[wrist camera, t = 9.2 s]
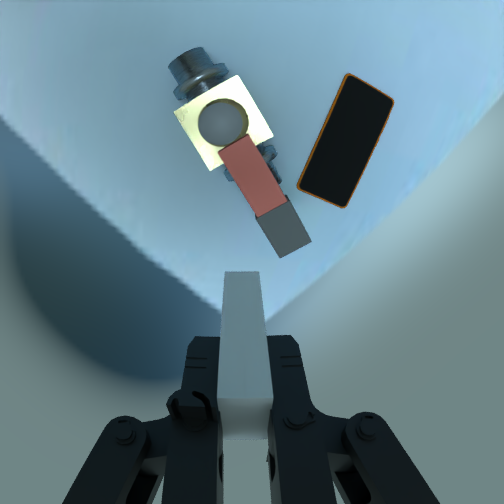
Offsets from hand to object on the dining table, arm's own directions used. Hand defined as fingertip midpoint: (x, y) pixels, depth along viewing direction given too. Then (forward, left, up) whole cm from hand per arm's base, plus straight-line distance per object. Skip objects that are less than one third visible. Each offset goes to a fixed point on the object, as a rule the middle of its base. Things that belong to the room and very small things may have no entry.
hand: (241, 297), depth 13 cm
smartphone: (+2, +14, -25) cm, 29 cm away
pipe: (-7, +2, -24) cm, 25 cm away
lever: (-1, +2, -17) cm, 17 cm away
